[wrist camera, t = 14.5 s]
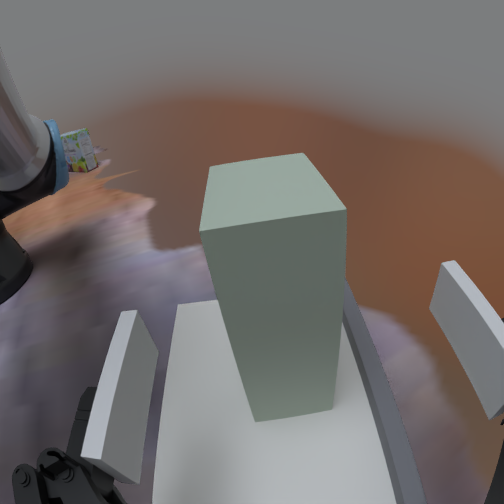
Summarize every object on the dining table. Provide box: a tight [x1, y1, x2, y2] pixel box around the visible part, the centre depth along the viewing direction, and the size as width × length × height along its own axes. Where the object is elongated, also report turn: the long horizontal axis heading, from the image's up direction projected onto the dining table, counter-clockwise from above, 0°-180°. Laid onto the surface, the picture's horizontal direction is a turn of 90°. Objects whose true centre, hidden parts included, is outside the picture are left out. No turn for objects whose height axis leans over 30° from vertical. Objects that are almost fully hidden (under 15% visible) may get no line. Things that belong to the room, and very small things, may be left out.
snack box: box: [60, 128, 98, 172], centre depth 98 cm, size 21×6×15 cm, turn 57°
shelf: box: [152, 278, 427, 504], centre depth 19 cm, size 24×16×4 cm, turn 3°
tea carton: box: [199, 153, 347, 422], centre depth 17 cm, size 5×7×14 cm
